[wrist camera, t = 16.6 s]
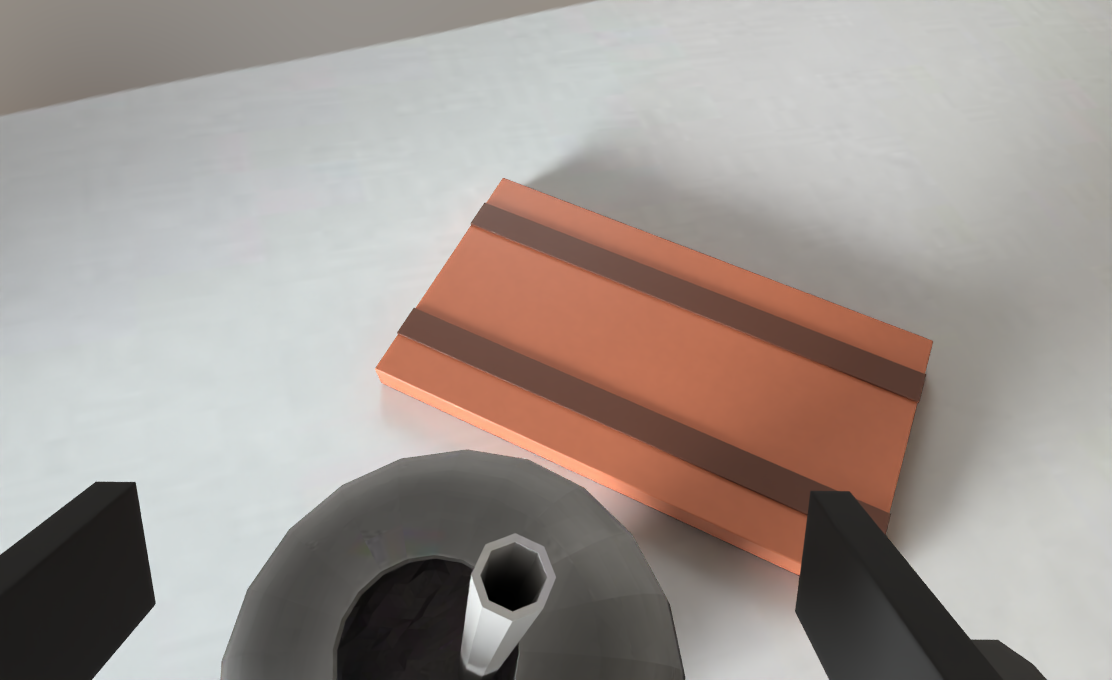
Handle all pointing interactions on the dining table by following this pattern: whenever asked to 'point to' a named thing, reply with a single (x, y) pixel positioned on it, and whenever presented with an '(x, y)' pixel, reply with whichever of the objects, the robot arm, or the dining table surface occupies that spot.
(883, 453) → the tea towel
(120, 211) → the dining table surface
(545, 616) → the beverage cup
